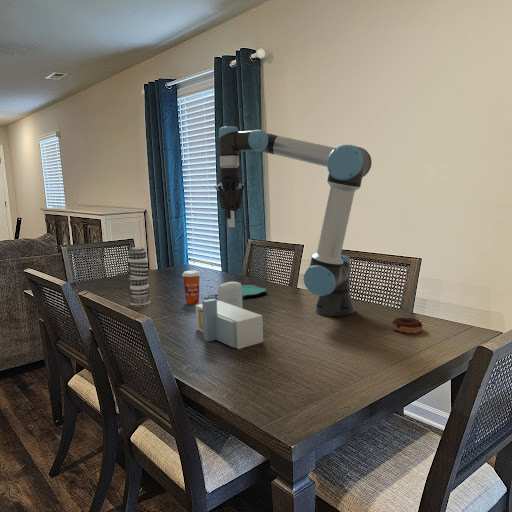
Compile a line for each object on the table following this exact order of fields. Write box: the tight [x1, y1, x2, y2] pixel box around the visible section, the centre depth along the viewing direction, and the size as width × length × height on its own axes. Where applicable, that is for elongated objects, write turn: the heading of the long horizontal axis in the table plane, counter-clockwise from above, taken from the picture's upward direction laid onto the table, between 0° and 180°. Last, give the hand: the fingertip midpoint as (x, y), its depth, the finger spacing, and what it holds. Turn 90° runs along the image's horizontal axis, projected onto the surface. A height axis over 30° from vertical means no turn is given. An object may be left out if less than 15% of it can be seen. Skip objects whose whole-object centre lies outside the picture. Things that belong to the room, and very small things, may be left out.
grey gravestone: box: [217, 281, 243, 309], centre depth 185 cm, size 10×4×12 cm, turn 123°
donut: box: [391, 317, 423, 334], centre depth 158 cm, size 10×10×4 cm
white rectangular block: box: [194, 300, 264, 350], centre depth 156 cm, size 26×10×9 cm, turn 37°
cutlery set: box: [201, 284, 268, 300], centre depth 213 cm, size 20×30×2 cm, turn 125°
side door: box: [201, 298, 236, 348], centre depth 147 cm, size 12×4×13 cm, turn 37°
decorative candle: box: [126, 246, 151, 306], centre depth 200 cm, size 9×9×25 cm
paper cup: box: [182, 270, 201, 305], centre depth 200 cm, size 8×8×14 cm
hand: (231, 226), depth 183 cm, fingers closed
